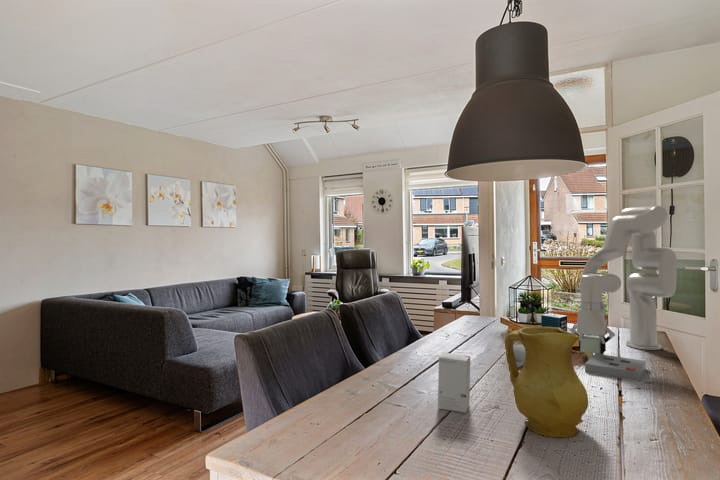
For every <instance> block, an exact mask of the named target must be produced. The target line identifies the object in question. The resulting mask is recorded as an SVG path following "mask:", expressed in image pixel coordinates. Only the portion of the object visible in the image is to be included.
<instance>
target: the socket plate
mask: <svg viewBox="0 0 720 480" xmlns="http://www.w3.org/2000/svg"><path fill="white" fill-rule="evenodd" d="M646 363H647V362H646V360H642V359H636V358H635V359H634V358H630V357H629V358H628V357H623V356H622V357H621V356H616V355H615V356H614V355H608V354H604V355H602V354H595V353H593V356H592V357H591V358H590V359H589V360H588V359H587V361H586V362H585V363H584V372H585V373H589V374H596V375H599V376H607V377H612V378H618V379H623V380H627V381H635V382H639V381H640V380H641V379H642V376H643V375H644V373H645V371H646V370H647V369H646V368H647V365H646Z"/></svg>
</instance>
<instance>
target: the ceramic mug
mask: <svg viewBox="0 0 720 480" xmlns="http://www.w3.org/2000/svg"><path fill="white" fill-rule="evenodd" d="M513 350H514V355H515V359H516V363H517V367H518V368H521V367H523V365H524V362H525V356H526V351H525V347H524V346H523V344H517V345H515V346H513Z"/></svg>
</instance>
